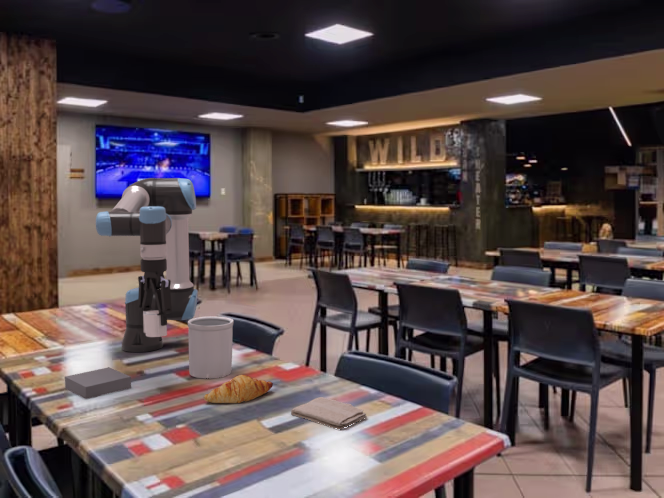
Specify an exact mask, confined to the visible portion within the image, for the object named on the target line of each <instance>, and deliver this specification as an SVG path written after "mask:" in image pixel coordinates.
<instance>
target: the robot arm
mask: <svg viewBox="0 0 664 498" xmlns="http://www.w3.org/2000/svg"><path fill="white" fill-rule="evenodd" d="M196 209H197V198H196V192H195V186H194V183H193V182H192V180H190V179H188V178H180V177H172V178H171V177H167V178H166V177H164V178H163V177H157V178H156V177H148V178H145V179H140V180H138V181H135V182H134V183H131V184H130V185H129V186H127V187H126V188H125V189H124V190H123V192H122V196H121V199H120V200H119V201H118V202H117V204H116V205H115V206H114V207H113V208H112V210H110V211H107V210H105V211H99V212H98V213H97V214H96V217H95V229H96V232H97V234H98V236H101V237H105V236H107V237H140V238H139V245H140V248H139V251H140V258H141V259H140V271H141V272H142V273H144V274H143V275H140V276H138V277H137V281H138V287H135V288H131V289H129V290H127V291H126V292H125V300H124V301H125V302H124V304H125V306H124V307H125V330H124V331H125V332H124V333H123V337H122V341H121V350H122V351H124V352H128V353H129V352H130V353H145V352H152V351H153V352H154V351H157V350H159V349H162V348H163V347H164V343H163V341H164V340H163V337H165V336H168V321H187V320H188V321H189V320H190V319H193V318H194V317H195V315H196V310H197V303H198V298H199V297H198V293H199V290H198V289H196V288H194V287H195V286H194V283H193V282H191V280H190V247H189V246H190V244H189V237H190V236H189V218H191V216H192V215H193V211H194V210H196ZM164 272H165V275H164ZM165 277H166V278H165ZM152 310H158V311H159V313H158V314H157V327H158V337H147V336H146V332H145V324H144V316H143V313H144V312H146V311H152Z"/></svg>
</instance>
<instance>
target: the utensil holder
mask: <svg viewBox="0 0 664 498" xmlns="http://www.w3.org/2000/svg"><path fill="white" fill-rule="evenodd" d="M233 326H234V319H233V318H231V317H226V316H216V315H215V316H212V315H211V316H210V315H209V316H200V317H199V316H198V317H195V318H194V317H193V318H192V319H188V321H187V327H188V369H189V375H190V376H192V377H193V378H197V379H206V378H207V379H208V378H209V379H218V378H219V377H220V378H223V376H224V377H226V375H227V376H229V375H230V374H231V373H232V368H233V367H232V365H233V363H232V362H233V332H234V331H233V329H234V328H233ZM220 378H219V379H220Z"/></svg>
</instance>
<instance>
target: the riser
mask: <svg viewBox="0 0 664 498" xmlns="http://www.w3.org/2000/svg"><path fill="white" fill-rule="evenodd" d="M64 389H66V390H68V391H70V392H72V393H73V394H76V395H77V396H80V397H81V398H83V399H85V400H88V399H92V398H96V397H101V396H105V395H108V394H111V393H112V394H113V393H116V392H121V391H124V390H129V389H132V376H130V375H128V374H126V373H124V372H121V371H118V369H117V370H116V369H114V368H111V367H109V366H108V367H103V368H99V369H94V370H90V371H84V372H79V373H76V374H70V375H65V376H64Z"/></svg>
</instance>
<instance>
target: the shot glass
mask: <svg viewBox="0 0 664 498" xmlns="http://www.w3.org/2000/svg"><path fill="white" fill-rule="evenodd" d="M158 313H159V311H158V310H152V311H146V312H144V313H143V316H144V324H145V332H146V336H147V337H158V327H157V314H158Z"/></svg>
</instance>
